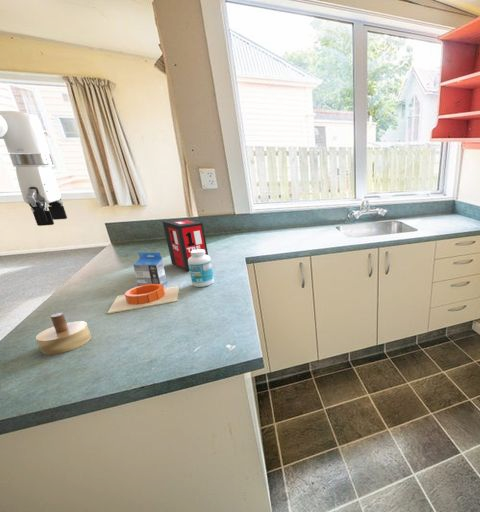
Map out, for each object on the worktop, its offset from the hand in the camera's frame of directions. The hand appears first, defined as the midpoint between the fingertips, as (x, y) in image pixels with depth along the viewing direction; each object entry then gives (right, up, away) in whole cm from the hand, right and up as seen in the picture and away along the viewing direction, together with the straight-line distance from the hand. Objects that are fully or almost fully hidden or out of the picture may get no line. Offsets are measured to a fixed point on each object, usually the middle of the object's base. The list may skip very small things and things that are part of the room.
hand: (53, 222), depth 87 cm
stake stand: (+14, -33, -9) cm, 37 cm away
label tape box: (+8, -21, +28) cm, 36 cm away
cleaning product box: (+9, -14, +48) cm, 51 cm away
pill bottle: (+27, -21, +29) cm, 45 cm away
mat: (+15, -25, +15) cm, 33 cm away
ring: (+15, -24, +15) cm, 33 cm away
